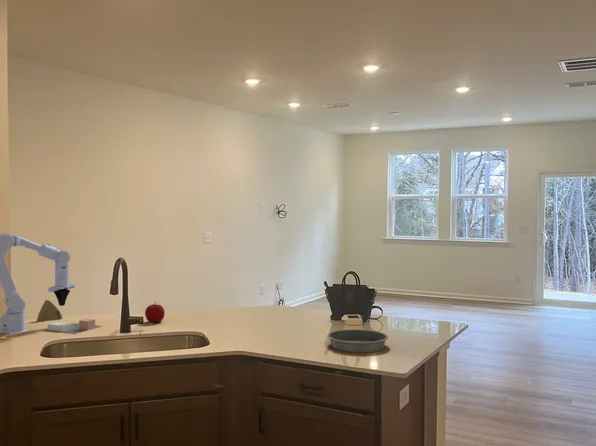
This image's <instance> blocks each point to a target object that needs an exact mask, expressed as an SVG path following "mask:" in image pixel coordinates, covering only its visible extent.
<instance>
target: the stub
mask: <svg viewBox="0 0 596 446" xmlns="http://www.w3.org/2000/svg"><path fill="white" fill-rule="evenodd" d="M78 324H79V329H81V330H88V331H90V330H94V328H95V325H96V319H93V318H84V319H80V320H79V321H78ZM95 329H96V328H95Z"/></svg>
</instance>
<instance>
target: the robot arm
mask: <svg viewBox="0 0 596 446" xmlns="http://www.w3.org/2000/svg"><path fill="white" fill-rule="evenodd" d="M20 246H21V247H25V248H27V249H30V250H32V251H36V252H37V253H38V255H39V256H40V257H43V258H46V259H48V260H51V261H54V262H55V266H54V285H53V286H50V287H48V288H47V291H48V293H54V295H55V297H56V299H57V302H58V306H60V307H63V306H65V305H66V302H67V298H68V295H69V293H70V292H71V290H70V289H75V288H76V284H75V283H69V262H70V260H71V255H70V254H69V252H67V251H66V250H62V249H61V248H60V247H57V248H56V247H54V246H53V245H52V244H50V243H43V244H39V243H36V242H34V241H31V240H29V239H27V238H24V237H22V236H18V235H17V236H16V235H13V234H10V233H0V285H1V288H2V290H3V293H4V297H5V307H6V308H7V310H6V311H5V314H3V315H1V317H0V334H5V335H6V334H7V335H14V334H18V333H23V332H26V331H28V329H25V308H26V302H25V300H24V299H23V298H22V297H21V296H20V294H19V292H18V291H17V288H16V286H15V283H14V280H13V277H12V275H11V273H10V271H9V268H8V265H7V263H6V259H5V258H4V257H5V256H6V254H7V252H8V251H9V250H11V249H12V247H20Z"/></svg>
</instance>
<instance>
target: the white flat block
mask: <svg viewBox="0 0 596 446" xmlns="http://www.w3.org/2000/svg"><path fill="white" fill-rule="evenodd" d="M47 328H48V330H53V331H63V332H64V331H68V330H71V329H73V322H66V321H65V322H64V321H56V322H55V321H54V322H52V323H51V322H50V323H47Z"/></svg>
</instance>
